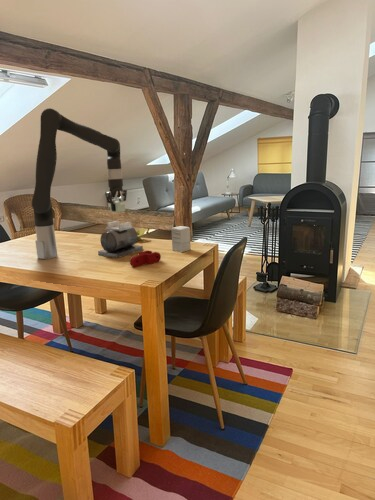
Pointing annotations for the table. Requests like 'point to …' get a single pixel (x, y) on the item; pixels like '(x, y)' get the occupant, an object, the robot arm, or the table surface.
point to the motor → (119, 240)
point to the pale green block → (119, 206)
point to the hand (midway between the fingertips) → (117, 210)
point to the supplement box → (181, 238)
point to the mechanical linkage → (145, 258)
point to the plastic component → (140, 233)
